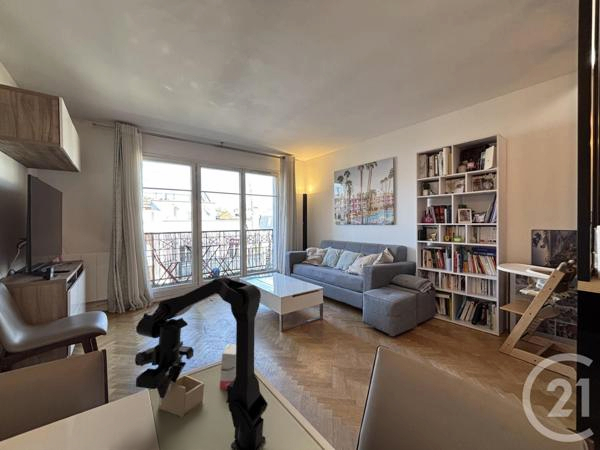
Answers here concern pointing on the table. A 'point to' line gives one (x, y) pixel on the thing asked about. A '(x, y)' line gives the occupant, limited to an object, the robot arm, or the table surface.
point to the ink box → (228, 366)
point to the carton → (191, 392)
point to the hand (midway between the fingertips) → (165, 393)
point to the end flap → (173, 399)
